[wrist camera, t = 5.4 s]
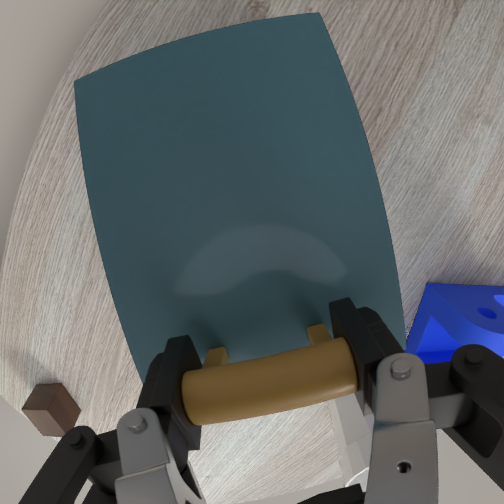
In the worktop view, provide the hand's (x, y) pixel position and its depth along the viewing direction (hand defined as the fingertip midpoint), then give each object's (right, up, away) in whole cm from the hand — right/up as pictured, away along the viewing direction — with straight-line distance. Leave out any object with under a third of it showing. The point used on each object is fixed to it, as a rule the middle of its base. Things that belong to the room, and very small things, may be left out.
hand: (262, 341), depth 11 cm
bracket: (+24, -4, +17) cm, 30 cm away
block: (-23, -14, +18) cm, 32 cm away
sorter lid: (-1, +5, +2) cm, 5 cm away
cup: (+10, -11, +19) cm, 24 cm away
